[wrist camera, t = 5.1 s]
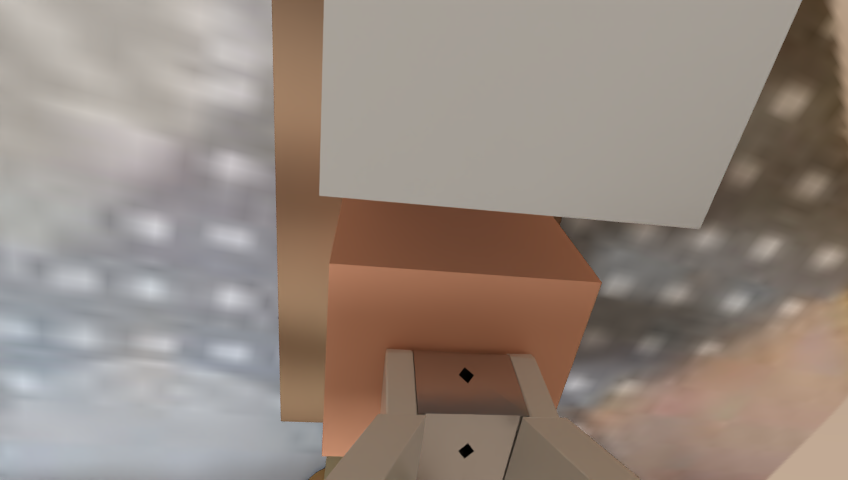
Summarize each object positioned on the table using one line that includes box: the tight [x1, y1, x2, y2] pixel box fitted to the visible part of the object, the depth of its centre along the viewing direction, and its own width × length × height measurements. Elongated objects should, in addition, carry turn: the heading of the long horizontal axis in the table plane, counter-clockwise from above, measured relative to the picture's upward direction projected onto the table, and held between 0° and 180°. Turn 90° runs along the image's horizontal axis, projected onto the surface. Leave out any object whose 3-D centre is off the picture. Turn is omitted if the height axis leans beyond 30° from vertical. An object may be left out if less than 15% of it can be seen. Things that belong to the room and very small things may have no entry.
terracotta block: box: [322, 198, 602, 457], centre depth 14 cm, size 5×5×10 cm
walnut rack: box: [272, 0, 562, 422], centre depth 18 cm, size 21×10×3 cm, turn 173°
